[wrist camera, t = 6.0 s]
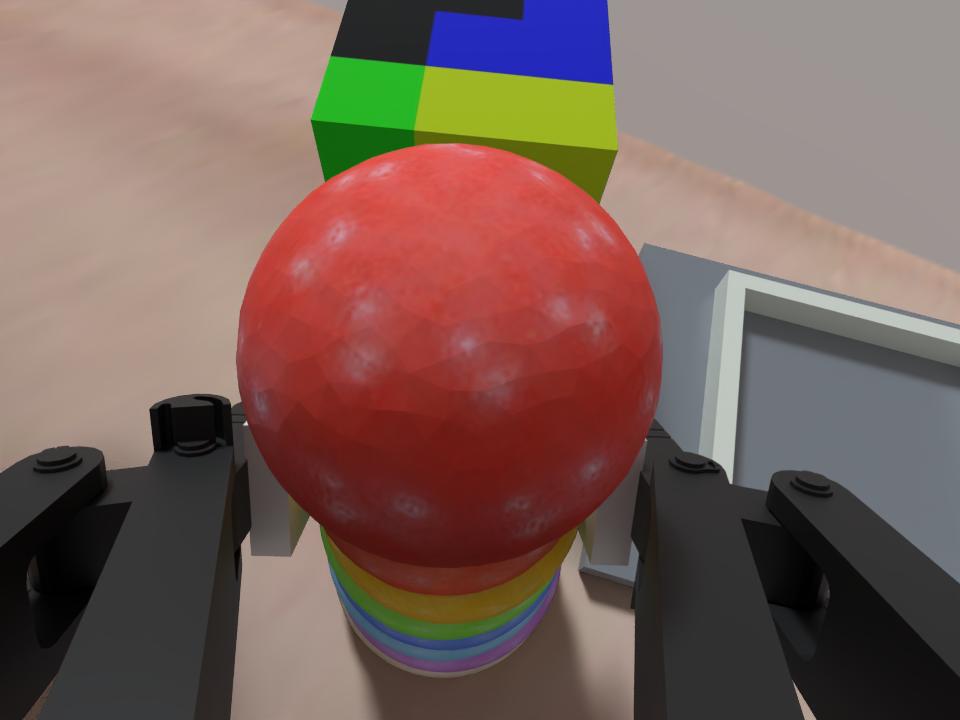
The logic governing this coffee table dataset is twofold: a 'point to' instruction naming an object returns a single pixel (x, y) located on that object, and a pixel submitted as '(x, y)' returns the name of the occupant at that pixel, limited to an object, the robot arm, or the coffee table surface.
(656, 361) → the stacking toy
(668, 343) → the board
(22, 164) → the coffee table surface
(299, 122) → the coffee table surface
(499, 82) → the puzzle toy
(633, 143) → the coffee table surface
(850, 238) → the coffee table surface
